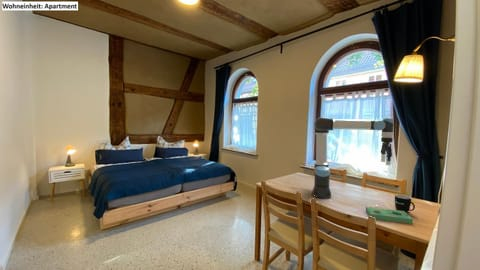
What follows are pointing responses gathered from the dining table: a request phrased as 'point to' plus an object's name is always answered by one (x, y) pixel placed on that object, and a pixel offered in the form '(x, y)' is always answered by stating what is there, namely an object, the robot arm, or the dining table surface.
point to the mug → (403, 203)
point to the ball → (377, 208)
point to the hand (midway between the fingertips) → (385, 163)
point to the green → (390, 215)
